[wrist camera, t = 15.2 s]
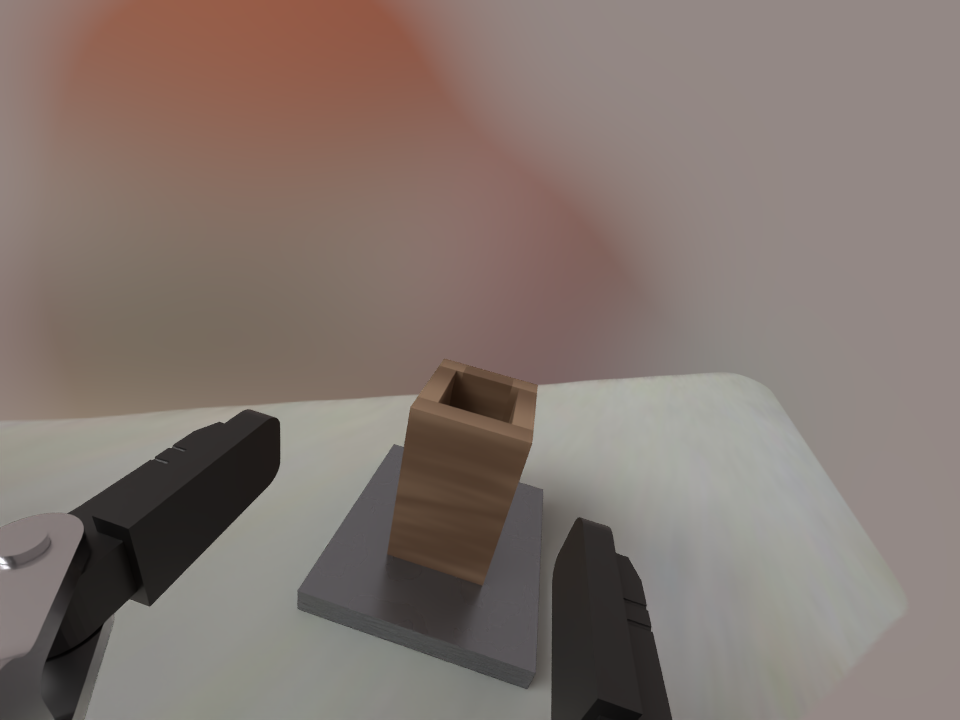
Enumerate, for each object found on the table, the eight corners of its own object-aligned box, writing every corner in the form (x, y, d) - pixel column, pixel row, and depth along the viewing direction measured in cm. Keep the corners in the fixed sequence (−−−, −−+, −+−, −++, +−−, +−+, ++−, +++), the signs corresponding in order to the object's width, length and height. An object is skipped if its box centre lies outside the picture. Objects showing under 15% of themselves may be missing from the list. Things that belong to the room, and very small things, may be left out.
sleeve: (482, 585, 20) (531, 443, 16) (386, 554, 21) (410, 407, 16) (497, 508, 25) (537, 384, 21) (419, 484, 26) (444, 358, 22)
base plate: (527, 689, 18) (569, 609, 15) (297, 609, 19) (297, 519, 16) (537, 503, 29) (563, 437, 26) (391, 458, 30) (401, 390, 27)
